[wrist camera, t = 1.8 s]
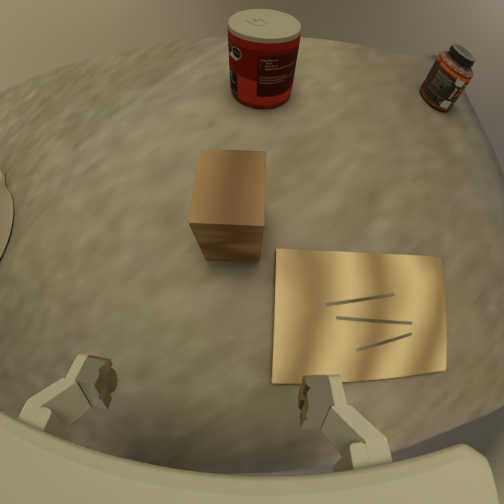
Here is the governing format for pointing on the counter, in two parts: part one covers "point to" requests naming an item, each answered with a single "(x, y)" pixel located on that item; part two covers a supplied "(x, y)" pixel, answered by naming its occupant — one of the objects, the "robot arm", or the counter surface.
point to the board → (357, 315)
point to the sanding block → (229, 204)
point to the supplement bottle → (448, 77)
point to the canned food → (262, 56)
